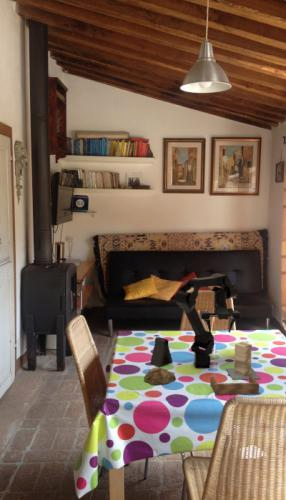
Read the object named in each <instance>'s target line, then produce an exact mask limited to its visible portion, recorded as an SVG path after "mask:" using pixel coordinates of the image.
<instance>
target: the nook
mask: <svg viewBox="0 0 286 500" xmlns="http://www.w3.org/2000/svg"><path fill="white" fill-rule="evenodd" d="M209 386H210V387H211V389H212V391H213V393H214V395H219V396H220V395H256V394H260V382H258V381H257V379H254V378H253V377H252V376H249V379H248V382H220V383H218V382H217V380H216V379H215V377H214V376H210V385H209Z"/></svg>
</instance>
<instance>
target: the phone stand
mask: <svg viewBox="0 0 286 500" xmlns="http://www.w3.org/2000/svg"><path fill="white" fill-rule="evenodd" d="M149 363H150V364H149V365H152V366H155V367H156V368H162V367H165V366H167V365H171V364H173V363H174V361H173V358H172V355H171V350H170V346H169V340H168V339H167V338H163V337H160V336H156V337H155V339H154V347H153V350H152V354H151V358H150V362H149Z"/></svg>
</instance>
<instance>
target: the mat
mask: <svg viewBox="0 0 286 500" xmlns="http://www.w3.org/2000/svg"><path fill="white" fill-rule="evenodd" d="M234 370H235V367H231V368H228V367H226V368H225V371H226V372H227V374H228V375H229V376H230V378H231V379H232V380H234V381H237V380H238V381H239V380H249V376H252V377H253V378H254V379H255V380H261V376H260V375H259V374H258V373H257V372H256V371H255V369H254V368H253V367H251V374H248V375H246V376H242V375H239V374H236V373H234Z"/></svg>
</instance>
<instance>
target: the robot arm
mask: <svg viewBox="0 0 286 500" xmlns="http://www.w3.org/2000/svg"><path fill="white" fill-rule="evenodd" d="M205 287H206V288H207V287H208V288H209V287H213V288H212V289H211V292H212V293H214V295H213V312H209V311H208V310H200V311H199V314H198V311H197V309H196V305H197V301H196V300H197V298H198V297H199V290H200V289H201V288H205ZM192 288H193V290H192V292H188V291H189V290H191V289H192ZM238 296H239V290H238V288H237V287H236V284H235V283H232V282H231V280H230V278H229V275H228V274H225V273H223V274H222V273H213V274H211V275H210V276H205V277H197V278H189V279H188V280H187V282H186V283H185V284H184V285H183V284H182V286H181V287H180V288H179V289H178V290H177V292H176V293H175V295H174V302H175V303H176V304H177V305H178V307H179V308H180V309H181V310H183V311H184V313H185V316H186V318H187V320H188V322H189V324H190V326H191V328H192V330H193V333H194V336H193V337H194V338H193V340H194V341H193V343H192V344H191V346H190V350H191V351H190V352H194V356H193V360H194V361H193V365H194V367H195V368H196V369H203V368H204V369H205V368H207V369H209V368H211V366H210V365H211V355H212V354H213V351H214V348H215V347H214V346H215V337H214V336H213V333H212V329H211V319H210V318H217V319H218V320H219V321H221V320H228V328H227V329H228V333H231V330H232V328H233V326H234V324H235V322H236V321H239V320H241V319H242V314H241V313H240V312H239V310H233V309H234V308H232V307H231V308H229V307H228V303H227V300H228V299H229V300H230V299H233V298H237V297H238ZM202 320H203V321H204V322H205V324H206V326H207V330H206V329H205V327H204V325H203V322H202Z"/></svg>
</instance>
